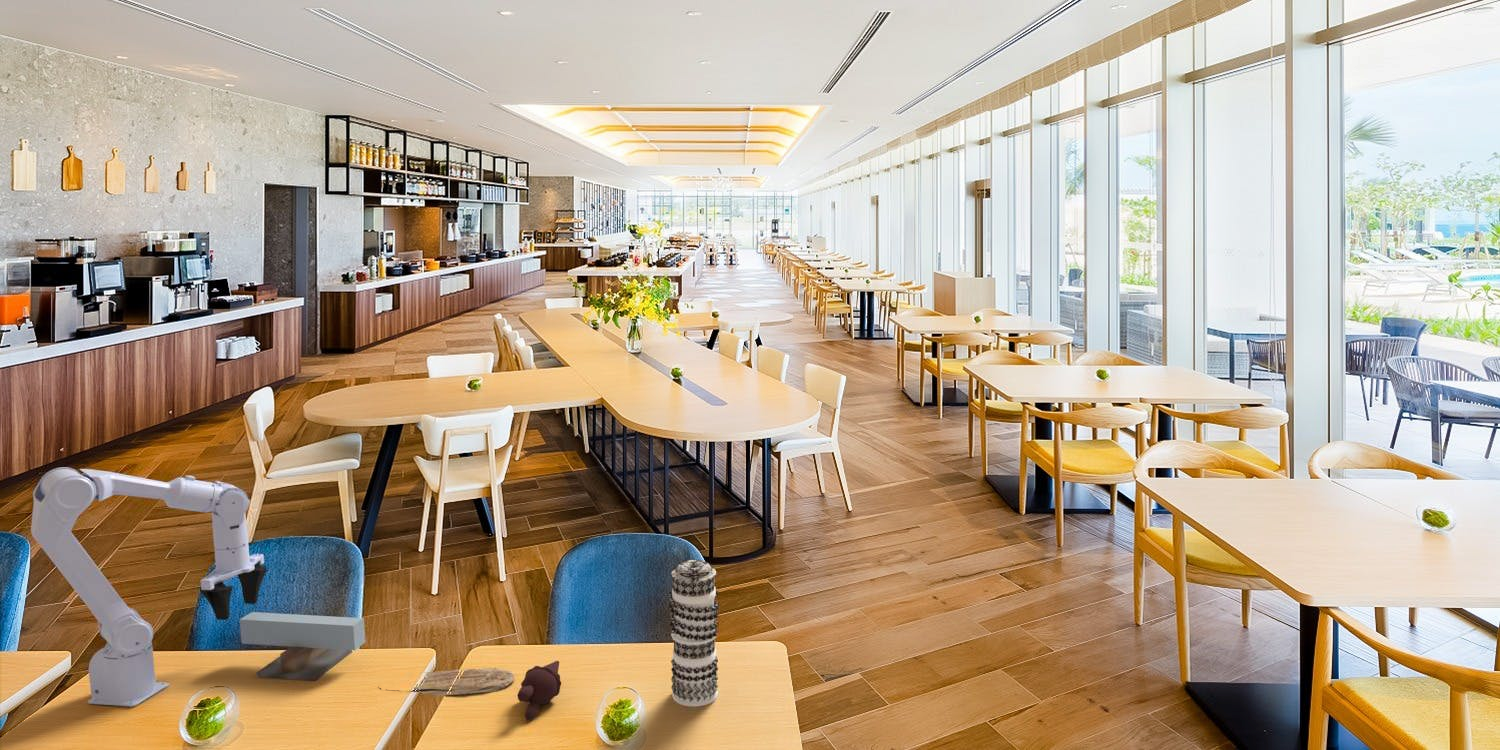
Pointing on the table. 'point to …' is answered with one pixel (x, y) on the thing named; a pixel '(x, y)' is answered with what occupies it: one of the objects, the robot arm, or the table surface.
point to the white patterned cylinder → (694, 633)
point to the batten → (302, 631)
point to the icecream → (539, 687)
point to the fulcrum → (303, 663)
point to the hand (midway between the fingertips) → (237, 610)
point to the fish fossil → (465, 681)
